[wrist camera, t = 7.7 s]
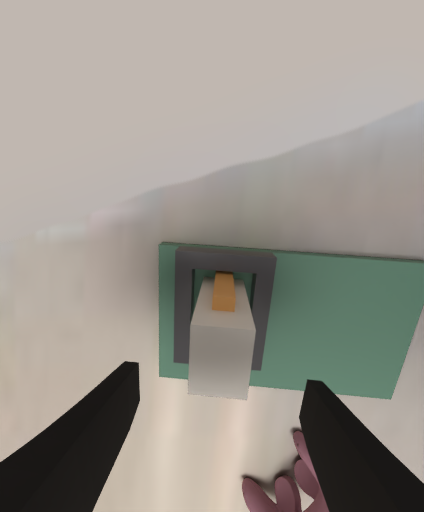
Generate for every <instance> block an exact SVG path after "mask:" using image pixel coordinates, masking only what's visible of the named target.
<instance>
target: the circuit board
mask: <svg viewBox="0 0 424 512" xmlns="http://www.w3.org/2000/svg"><path fill="white" fill-rule="evenodd" d="M179 246H186V247H200V248H214V249H228V250H242V251H256V252H270V253H273V254H274V255H275V256H276V257H277V262H276V269H275V276H274V283H273V290H272V297H271V304H270V311H269V318H268V325H267V332H266V339H265V346H264V353H263V360H262V367H261V371H256V370H251V373H250V381H249V386H259V387H269V388H280V389H290V390H300V391H305V387H306V382H307V379H309V380H319V381H323V382H324V383H325V384H326V385H327V386H328V387H329V388H330V390H331V391H332V392H333V393H334V394H341V395H351V396H361V397H371V398H381V399H391V398H392V395H393V392H394V389H395V386H396V383H397V381H398V378H399V375H400V372H401V369H402V366H403V363H404V360H405V357H406V354H407V351H408V349H409V346H410V343H411V340H412V337H413V334H414V331H415V328H416V325H417V322H418V319H419V317H420V314H421V311H422V308H423V305H424V261H422V260H408V259H394V258H379V257H365V256H351V255H337V254H323V253H309V252H294V251H280V250H266V249H252V248H238V247H223V246H209V245H195V244H181V243H167V242H162V243H161V244H159V377H168V378H178V379H188V376H189V364H183V363H173V357H174V297H175V250H176V249H177V248H178V247H179ZM215 274H216V270H203V269H195V282H194V306H193V314H194V310H195V307H196V303H197V300H198V296H199V293H200V289H201V285H202V282H203V278H204V277H214V278H215ZM252 278H253V273H243V272H233V279H241V280H243V281H244V285H245V289H246V293H247V297H248V301H249V304H250V295H251V286H252Z"/></svg>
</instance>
